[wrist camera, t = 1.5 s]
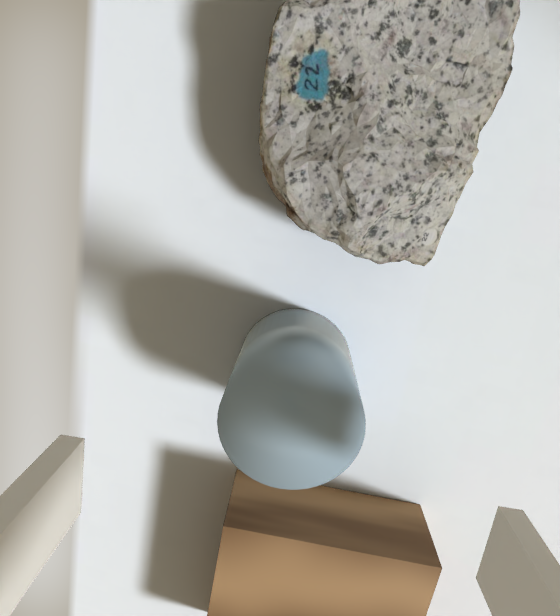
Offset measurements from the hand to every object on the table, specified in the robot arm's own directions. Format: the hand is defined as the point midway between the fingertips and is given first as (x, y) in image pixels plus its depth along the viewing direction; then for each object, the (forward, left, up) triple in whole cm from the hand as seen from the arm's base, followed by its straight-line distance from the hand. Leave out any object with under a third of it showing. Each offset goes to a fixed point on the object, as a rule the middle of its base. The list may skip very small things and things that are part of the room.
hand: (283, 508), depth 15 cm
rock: (-13, -1, -12) cm, 18 cm away
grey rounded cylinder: (0, 0, -12) cm, 12 cm away
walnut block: (+13, +3, -12) cm, 18 cm away
